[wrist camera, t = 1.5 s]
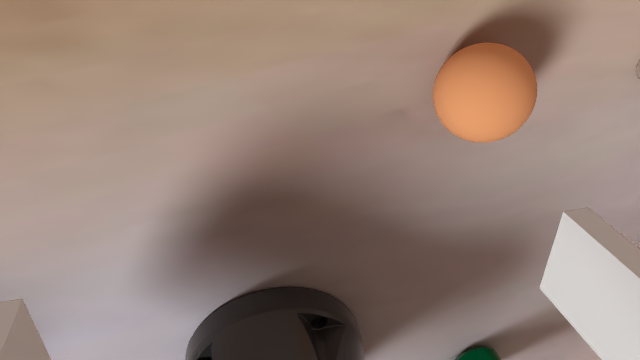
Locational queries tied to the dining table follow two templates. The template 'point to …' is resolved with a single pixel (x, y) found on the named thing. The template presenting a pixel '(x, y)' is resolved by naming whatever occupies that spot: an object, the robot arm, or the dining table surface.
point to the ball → (485, 92)
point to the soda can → (479, 354)
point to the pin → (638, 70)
